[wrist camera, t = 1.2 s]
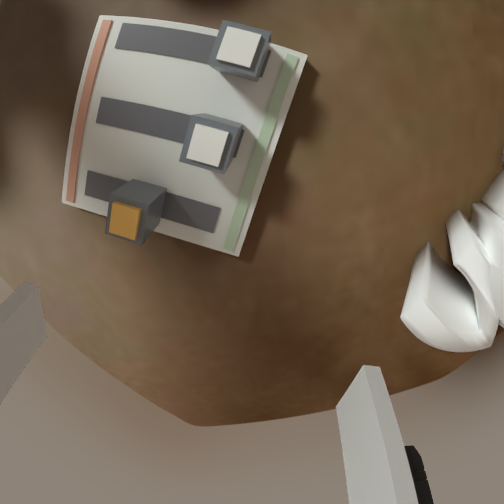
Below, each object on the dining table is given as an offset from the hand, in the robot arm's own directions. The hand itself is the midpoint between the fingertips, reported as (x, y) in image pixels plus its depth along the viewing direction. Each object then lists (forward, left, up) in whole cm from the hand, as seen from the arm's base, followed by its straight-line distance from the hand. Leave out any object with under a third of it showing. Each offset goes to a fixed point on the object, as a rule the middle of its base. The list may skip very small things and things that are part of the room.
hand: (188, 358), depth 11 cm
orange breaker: (-8, -2, -19) cm, 21 cm away
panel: (-8, +5, -22) cm, 23 cm away
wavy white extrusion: (+30, +10, -22) cm, 38 cm away
